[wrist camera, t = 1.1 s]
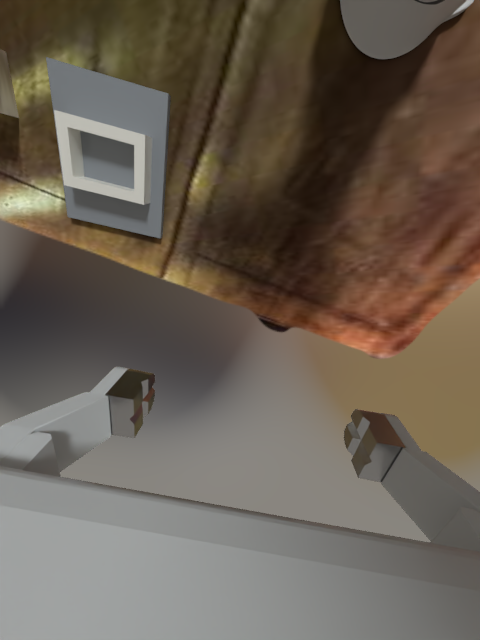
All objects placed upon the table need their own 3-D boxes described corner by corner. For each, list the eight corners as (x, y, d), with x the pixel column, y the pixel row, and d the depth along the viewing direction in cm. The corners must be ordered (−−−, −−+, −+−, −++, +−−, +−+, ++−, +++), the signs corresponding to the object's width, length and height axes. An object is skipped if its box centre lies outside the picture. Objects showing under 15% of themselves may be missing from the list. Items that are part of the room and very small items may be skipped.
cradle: (52, 60, 32) (28, 46, 29) (170, 96, 34) (162, 86, 30) (72, 216, 42) (56, 219, 39) (162, 237, 44) (155, 242, 40)
